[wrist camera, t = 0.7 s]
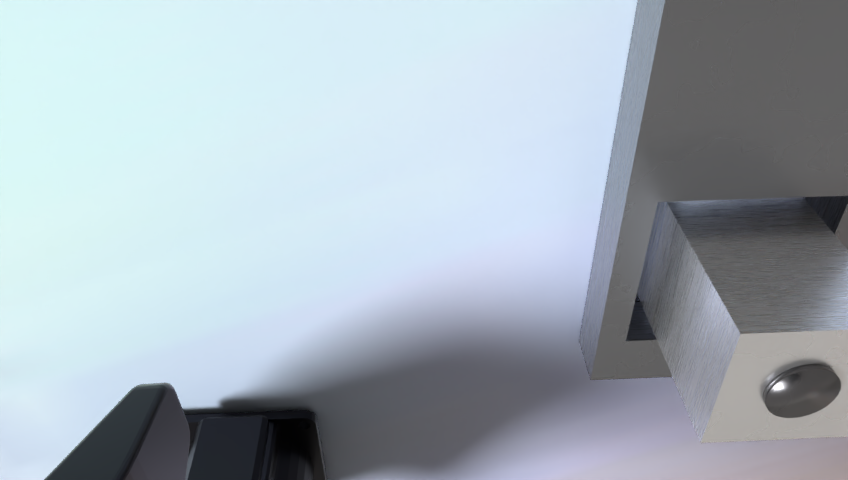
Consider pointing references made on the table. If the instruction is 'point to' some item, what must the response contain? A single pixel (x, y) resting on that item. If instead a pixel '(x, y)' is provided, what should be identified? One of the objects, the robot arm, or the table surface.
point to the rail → (714, 141)
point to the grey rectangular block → (751, 316)
